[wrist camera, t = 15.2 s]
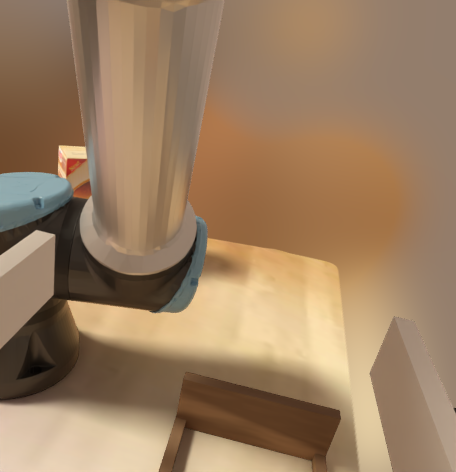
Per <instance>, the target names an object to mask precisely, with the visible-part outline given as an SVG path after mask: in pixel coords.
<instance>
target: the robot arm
mask: <svg viewBox="0 0 456 472" xmlns="http://www.w3.org/2000/svg"><path fill="white" fill-rule="evenodd" d="M67 6H68V15H69V22H70V30H71V38H72V45H73V53H74V61H75V68H76V76H77V84H78V92H79V99H80V107H81V115H82V123H83V130H84V138H85V146H86V154H87V162H88V169H89V177H90V185H91V193H92V195H91V197H90V198H89V199H84V198H78V197H74V196H73V195H74V190H73V188H72V185H71V183H70V182H69V181H68V180H67V179H65V178H60V177H59V176H58V175H53V174H48V173H39V172H17V173H6V174H0V399H11V398H18V397H23V396H28V395H31V394H34V393H37V392H40V391H42V390H45V389H47V388H49V387H51V386H52V385H54V384H56V383H57V382H59V381H60V380H61V379H63V378H64V377H65V376H66V375H67V374H68V373H69V372H70V371H71V369H72V368H73V367H74V365H75V363H76V361H77V358H78V353H79V333H78V329H77V327H76V324H75V321H74V318H73V316H72V313H71V310H70V308H69V305H68V302H67V300H71V301H80V302H87V303H95V304H102V305H110V306H118V307H125V308H133V309H141V310H148V311H150V312H152V313H161V312H170V313H178V312H181V311H183V310H184V309H186V308H187V307H188V305H189V304H190V303H191V301H192V299H193V297H194V295H195V292H196V290H197V286H198V279H199V277H200V276H201V273H202V269H203V265H204V260H205V254H206V247H207V225H206V223H205V221H204V220H203V219H202V218H200V217H198V216H196V215H195V213H194V211H193V208H192V206H191V204H190V203H189V201H188V200H187V199H188V193H189V188H190V183H191V177H192V172H193V167H194V161H195V156H196V151H197V145H198V140H199V134H200V129H201V124H202V118H203V113H204V108H205V102H206V97H207V92H208V86H209V81H210V76H211V70H212V65H213V60H214V54H215V49H216V43H217V38H218V32H219V27H220V22H221V16H222V11H223V6H224V0H67ZM370 376H371V381H372V385H373V389H374V393H375V398H376V402H377V406H378V410H379V414H380V419H381V423H382V427H383V431H384V435H385V440H386V444H387V448H388V453H389V457H390V461H391V465H392V469H393V472H456V408H453V406H452V404H451V402H450V400H449V397H448V395H447V393H446V391H445V389H444V386H443V384H442V382H441V379H440V377H439V375H438V373H437V370H436V368H435V366H434V364H433V362H432V359H431V357H430V355H429V353H428V350H427V348H426V346H425V344H424V341H423V339H422V337H421V335H420V333H419V330H418V328H417V326H416V323H415V321H412V320H407V319H403V318H399V317H395V316H394V317H393V320H392V322H391V324H390V327H389V329H388V331H387V334H386V336H385V338H384V341H383V343H382V345H381V348H380V350H379V353H378V355H377V357H376V359H375V362H374V364H373V366H372V369H371V371H370Z"/></svg>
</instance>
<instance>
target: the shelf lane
mask: <svg viewBox="0 0 456 472" xmlns="http://www.w3.org/2000/svg"><path fill="white" fill-rule="evenodd" d="M340 420H341V417H340V411H339V410H335V409H331V408H327V407H324V406H320V405H316V404H312V403H308V402H304V401H300V400H296V399H292V398H288V397H284V396H280V395H276V394H272V393H268V392H264V391H260V390H256V389H252V388H249V387H245V386H241V385H237V384H233V383H229V382H225V381H221V380H217V379H213V378H209V377H205V376H201V375H197V374H193V373H189V372H186V373H185V376H184V379H183V384H182V389H181V394H180V399H179V404H178V410H177V415H176V419H175V422H174V425H173V428H172V431H171V434H170V438H169V441H168V444H167V447H166V450H165V453H164V456H163V459H162V463H161V466H160V469H159V472H172V469H173V466H174V462H175V459H176V455H177V452H178V448H179V445H180V441H181V438H182V435H183V431H184V428H188V429H192V430H196V431H200V432H204V433H208V434H211V435H215V436H219V437H223V438H227V439H231V440H234V441H238V442H242V443H246V444H250V445H254V446H258V447H261V448H265V449H269V450H273V451H277V452H281V453H284V454H288V455H292V456H296V457H300V458H304V459H308V460H311V461H312V469H313V472H327V469H326V457H325V456H326V454H327V451H328V449H329V446H330V444H331V442H332V439H333V437H334V434H335V432H336V429H337V427H338V425H339V422H340Z"/></svg>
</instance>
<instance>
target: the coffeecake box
mask: <svg viewBox="0 0 456 472" xmlns="http://www.w3.org/2000/svg"><path fill="white" fill-rule="evenodd" d="M58 176H59V177H60V178H65V179H67V180H68V181H69V182H70V183H71V185H72V188H73V190H74V195H73V196H74V197H78V198H84V199H89V198H90V197H91V195H92V193H91V185H90V177H89V169H88V162H87V154H86V147H77V146H75V147H74V146H59V161H58Z"/></svg>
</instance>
